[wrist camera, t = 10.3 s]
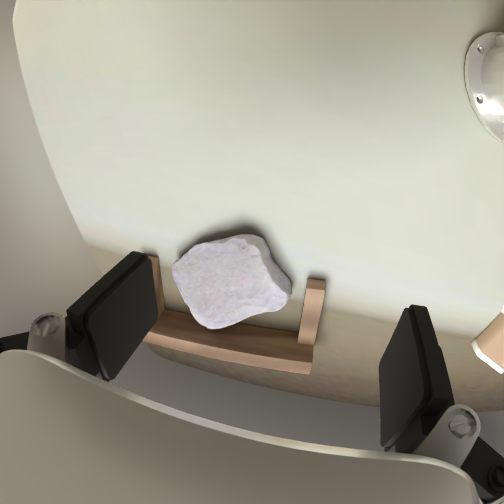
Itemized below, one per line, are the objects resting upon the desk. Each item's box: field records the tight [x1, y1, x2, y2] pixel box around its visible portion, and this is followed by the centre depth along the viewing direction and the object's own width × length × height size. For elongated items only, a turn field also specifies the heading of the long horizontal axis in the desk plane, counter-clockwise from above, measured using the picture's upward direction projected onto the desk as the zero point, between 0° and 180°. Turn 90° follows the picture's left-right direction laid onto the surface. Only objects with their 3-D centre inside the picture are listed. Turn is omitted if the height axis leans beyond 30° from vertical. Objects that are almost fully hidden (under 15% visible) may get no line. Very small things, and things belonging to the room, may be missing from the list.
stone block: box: [172, 234, 292, 329], centre depth 34 cm, size 12×5×10 cm
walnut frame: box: [142, 256, 325, 374], centre depth 35 cm, size 10×22×5 cm, turn 88°
